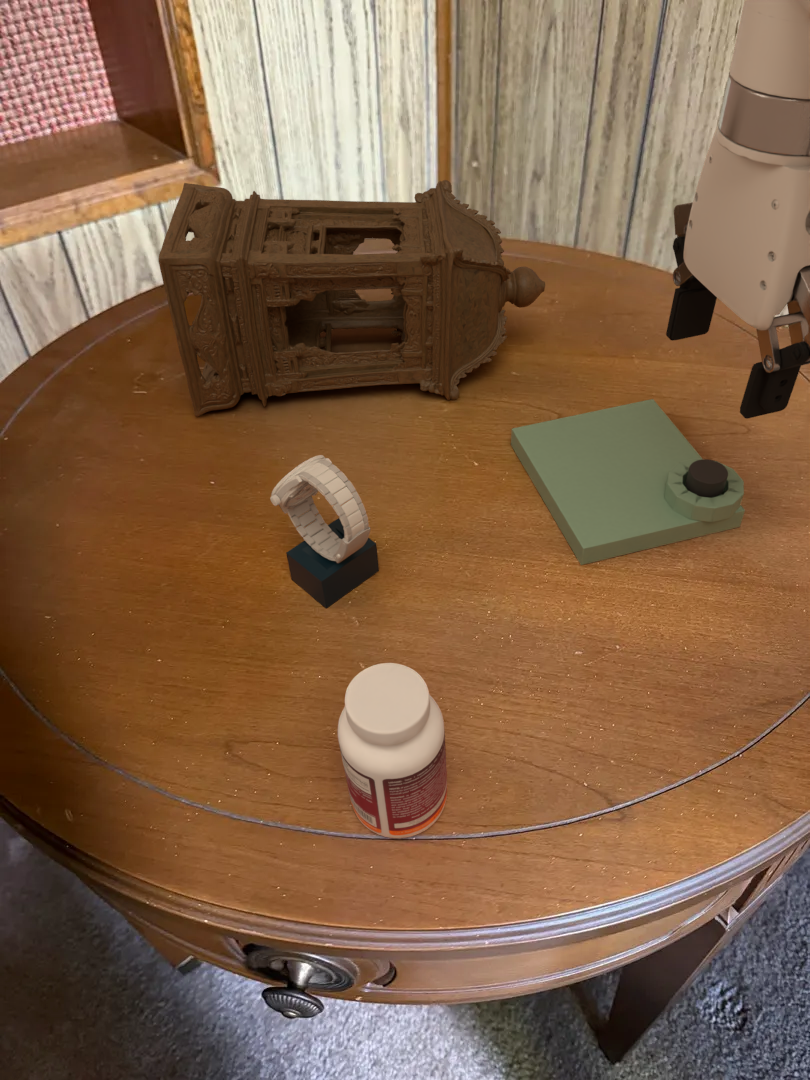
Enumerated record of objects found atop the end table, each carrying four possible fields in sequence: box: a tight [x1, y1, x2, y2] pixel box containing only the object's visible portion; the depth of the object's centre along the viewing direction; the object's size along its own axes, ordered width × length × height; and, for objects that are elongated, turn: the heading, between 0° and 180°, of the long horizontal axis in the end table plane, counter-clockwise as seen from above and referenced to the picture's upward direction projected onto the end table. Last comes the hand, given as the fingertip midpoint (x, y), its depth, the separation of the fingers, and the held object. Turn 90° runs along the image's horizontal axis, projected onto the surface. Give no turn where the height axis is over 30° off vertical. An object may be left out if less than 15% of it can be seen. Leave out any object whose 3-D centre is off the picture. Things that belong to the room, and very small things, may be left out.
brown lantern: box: [158, 179, 546, 417], centre depth 83 cm, size 35×18×18 cm, turn 92°
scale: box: [510, 398, 746, 566], centre depth 73 cm, size 16×14×4 cm
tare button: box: [686, 458, 728, 498], centre depth 68 cm, size 3×3×2 cm
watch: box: [269, 454, 380, 609], centre depth 64 cm, size 6×8×11 cm
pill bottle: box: [337, 662, 448, 839], centre depth 50 cm, size 6×6×11 cm
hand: (722, 371), depth 59 cm, fingers open, 9 cm apart
